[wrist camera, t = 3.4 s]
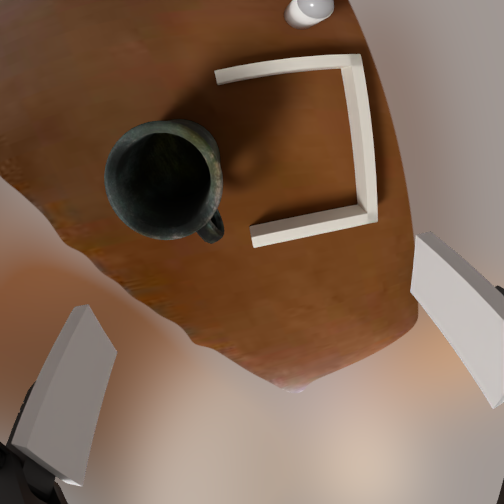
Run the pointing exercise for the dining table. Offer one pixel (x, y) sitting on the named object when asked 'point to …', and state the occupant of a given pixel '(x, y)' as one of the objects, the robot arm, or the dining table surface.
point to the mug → (167, 180)
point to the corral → (360, 142)
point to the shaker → (307, 12)
